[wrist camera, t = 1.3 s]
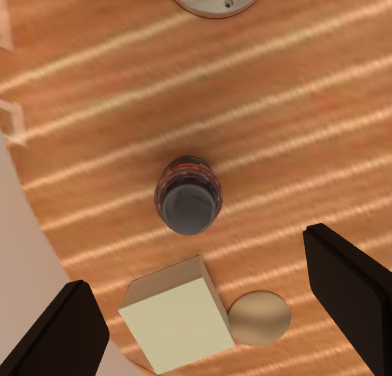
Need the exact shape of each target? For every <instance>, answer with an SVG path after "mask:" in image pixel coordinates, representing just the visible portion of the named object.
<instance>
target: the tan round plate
mask: <svg viewBox="0 0 392 376" xmlns="http://www.w3.org/2000/svg"><path fill="white" fill-rule="evenodd" d="M227 316H228V321H229V326H230V330H231V334H232V336H233V337H234V338H235V339H236V340H238V341H239V342H241V343H243V344H246V345H250V346H263V345H267V344H270V343H272V342H274V341H276V340H278V339H279V338H280V337H282V335H283V334H284V333H285V332H286V331H287V329H288V327H289V324H290V320H291V315H290V310H289V308H288V306H287V304H286V303H285V301H284V300H283V299H282V298H281V297H280V296H278V295H276V294H274V293H272V292H268V291H253V292H249V293H247V294H244V295H243V296H241V297H239V298H238V299H237V300H236V301H235V302H234V303H233V304H232V305H231V307H230V309H229V311H228V314H227Z"/></svg>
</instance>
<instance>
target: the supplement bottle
mask: <svg viewBox="0 0 392 376" xmlns="http://www.w3.org/2000/svg"><path fill="white" fill-rule="evenodd" d="M154 202H155V207H156V210H157V212H158V214H159V216H160V218H161V219H162V220H163V221H164V222H165V223H166V224H167V226H168V227H169V228H170V229H172V230H173V231H175V232H177V233H179V234H182V235H196V234H199V233H201V232H203V231H204V230H206V229H207V228H208V227H209V226H210V225H211V223H212V222H213V221H214V220H215V219H216V217H217V216H218V214H219V212H220V210H221V207H222V202H223V195H222V190H221V186H220V184H219V182H218V180H217V178H216V177H215V175H214V174H213V172H212V170H211V169H210V167H209V166H208V165H207V164H206V163H205V162H204V161H203V160H201V159H199V158H197V157H194V156H183V157H180V158H177V159H175V160H174V161H172V162H171V163H170V164H169V165H168V167H167V168H166V170H165V172H164V173H163V175H162V176H161V178H160V180H159V182H158V184H157V186H156V189H155V195H154Z"/></svg>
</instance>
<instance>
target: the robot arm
mask: <svg viewBox="0 0 392 376" xmlns="http://www.w3.org/2000/svg"><path fill="white" fill-rule="evenodd" d="M175 1H176V2H177V3H178V4H179V5H181V6H182V7H183V8H185V9H186V10H188V11H190V12H192V13H194V14H196V15H199V16H203V17H207V18H224V17H229V16H233V15H235V14H237V13H240V12H242V11H244V10H245V9H247V8H248V7H249V6H251V5H252V4H253V3H254V2H255V1H256V0H175ZM226 5H228V6H229V7H230V8H227V7H225V6H226ZM303 238H304V245H305V253H306V260H307V267H308V274H309V281H310V287H311V290H312V292H313V294H314V295H315V296H316V298H317V299H318V300H319V302H320V303H321V304H322V306H323V307H324V308H325V310H326V311H327V312H328V314H329V315H330V316H331V318H332V319H333V320H334V322H335V323H336V324H337V326H338V327H339V328H340V330H341V331H342V332H343V334H344V335H345V336H346V338H347V339H348V340H349V342H350V343H351V344H352V346H353V347H354V348H355V350H356V351H357V352H358V354H359V355H360V356H361V358H362V359H363V360H364V362H365V363H366V364H367V366H368V367H369V368H370V370H371V371H372V372H373V374H374V375H375V376H392V272H391V271H389V270H388V269H387V268H385V267H384V266H382V265H381V264H379V263H378V262H377V261H375V260H374V259H372V258H371V257H370V256H368V255H367V254H365V253H364V252H363V251H361V250H360V249H358V248H357V247H355V246H354V245H353V244H351V243H350V242H348V241H347V240H346V239H344V238H343V237H341V236H340V235H339V234H337V233H336V232H334V231H333V230H331V229H330V228H329V227H327V226H326V225H324V224H323V223H319V224H315V225H310V226H307V228H306V230H305V231H303ZM109 335H110V334H109V329H108V327H107V325H106V322H105V320H104V318H103V316H102V313H101V311H100V309H99V306H98V304H97V302H96V300H95V297H94V295H93V293H92V290H91V288H90V286H89V284H88V283H87V282H84V281H83V280H77V281H73V282H69V283H67V284H66V285H65V286H64V287H63V288H62V290H61V291H60V292H59V293H58V295H57V296H56V297H55V298H54V300H53V301H52V302H51V303H50V304H49V306H48V307H47V308H46V310H45V311H44V312H43V313H42V314H41V316H40V317H39V318H38V319H37V321H36V322H35V323H34V324H33V326H32V327H31V328H30V329H29V331H28V332H27V333H26V334H25V336H24V337H23V338H22V339H21V341H20V342H19V343H18V344H17V345H16V347H15V348H14V349H13V350H12V352H11V353H10V354H9V355H8V357H7V358H6V359H5V360H4V361H3V363H2V364H1V365H0V376H95V375H96V372H97V369H98V367H99V364H100V362H101V359H102V357H103V354H104V351H105V349H106V346H107V344H108V341H109Z"/></svg>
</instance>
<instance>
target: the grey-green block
mask: <svg viewBox="0 0 392 376" xmlns="http://www.w3.org/2000/svg"><path fill="white" fill-rule="evenodd" d="M118 311H119V313H120V314H121V316H122V318H123V319H124V321H125V323H126V324H127V326H128V327H129V329H130V331H131V332H132V334H133V336H134V337H135V339H136V341H137V342H138V344H139V345H140V347H141V349H142V350H143V352H144V354H145V355H146V357H147V359H148V360H149V362H150V363H151V365H152V367H153V368H154V370H155V372H156V373H157V375H158V374H161V373H163V372H166V371H169V370H172V369H175V368H177V367H180V366H183V365H186V364H188V363H191V362H194V361H197V360H200V359H202V358H205V357H208V356H211V355H213V354H216V353H219V352H222V351H224V350H227V349H230V348H233V347H236V345H235V341H234V339H233V337H232V335H231V330H230V326H229V321H228V316H227V312H226V310H225V308H224V306H223V303H222V301H221V299H220V297H219V295H218V293H217V291H216V289H215V286H214V284H213V282H212V280H211V278H210V276H209V274H208V272H207V269H206V267H205V265H204V263H203V261H202V259H201V257H200V255H198V256H196V257H193V258H191V259H188V260H186V261H183V262H181V263H178V264H176V265H173V266H171V267H168V268H165V269H163V270H160V271H158V272H155V273H153V274H150V275H148V276H145V277H143V278H140V279H138V280H135V281H133V282H131V285H130V287H129V290H128V292H127V295H126V298H125V300H124V303H123V305H121V306H119V308H118Z"/></svg>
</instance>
